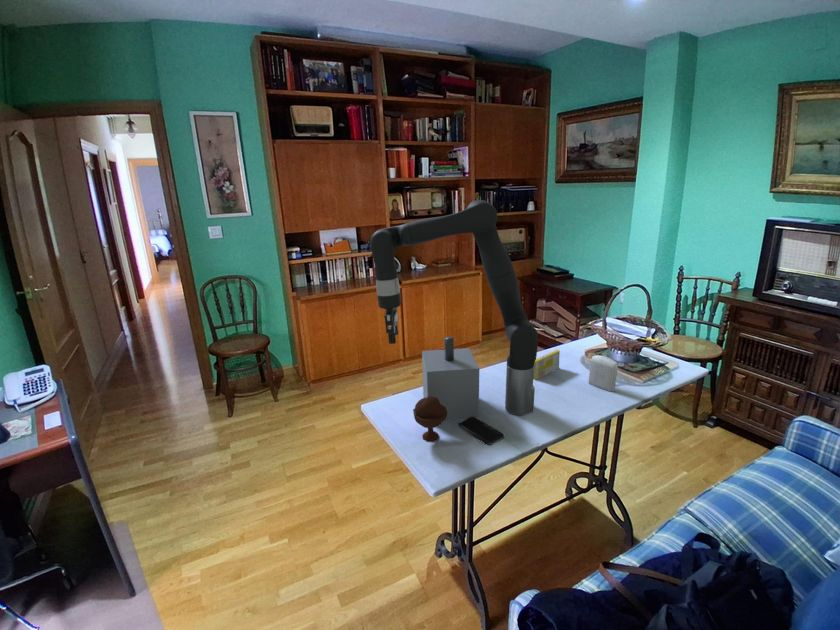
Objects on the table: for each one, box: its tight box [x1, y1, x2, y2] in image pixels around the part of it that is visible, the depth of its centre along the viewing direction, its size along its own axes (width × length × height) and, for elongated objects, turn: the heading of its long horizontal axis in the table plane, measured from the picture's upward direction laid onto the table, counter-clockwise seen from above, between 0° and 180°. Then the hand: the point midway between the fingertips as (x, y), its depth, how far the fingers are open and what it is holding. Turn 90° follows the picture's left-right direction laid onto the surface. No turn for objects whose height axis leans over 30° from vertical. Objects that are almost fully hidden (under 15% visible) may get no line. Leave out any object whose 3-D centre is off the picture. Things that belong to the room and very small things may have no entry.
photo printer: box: [588, 354, 619, 392], centre depth 168 cm, size 10×4×12 cm, turn 38°
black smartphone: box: [457, 417, 505, 446], centre depth 143 cm, size 8×1×15 cm
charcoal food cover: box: [421, 335, 480, 421], centre depth 155 cm, size 18×18×27 cm
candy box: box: [533, 349, 561, 381], centre depth 181 cm, size 16×2×8 cm, turn 128°
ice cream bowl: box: [412, 396, 447, 443], centre depth 139 cm, size 11×11×15 cm
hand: (393, 338), depth 146 cm, fingers open, 8 cm apart
